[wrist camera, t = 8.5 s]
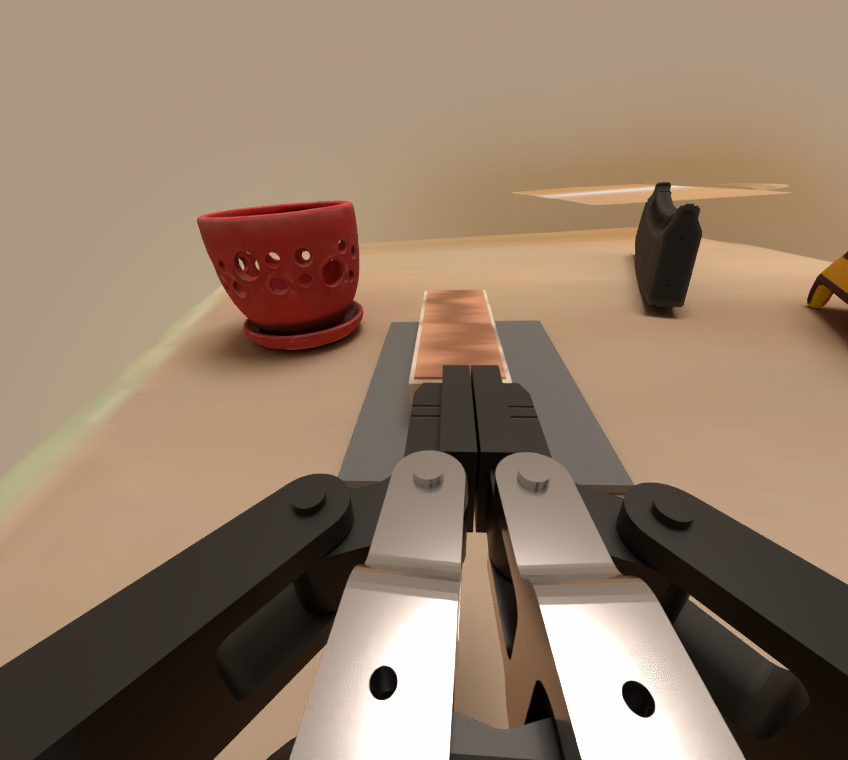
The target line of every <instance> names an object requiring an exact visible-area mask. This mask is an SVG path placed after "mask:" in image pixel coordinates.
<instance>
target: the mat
mask: <svg viewBox="0 0 848 760" xmlns="http://www.w3.org/2000/svg"><path fill="white" fill-rule="evenodd" d="M494 322H495V325H496V329H497V332H498V336H499V339H500V343H501V346H502V349H503V353H504V356H505V360H506V363H507V367H508V370H509V373H510V377H511V380H512V383H519V384H520V385H521V386H522V387H523V388H524V389H525V390H526V391H528V392H529V393H530V395H531V398H532V401H533V404H534V408H535V410H536V413H537V416H538V419H539V422H540V424H541V427H542V430H543V433H544V436H545V439H546V442H547V445H548V448H549V450H550V453H551V456H552V459H554V460H555V461H557V462H558V463H560V464H561V465H562V466H563V467H565V469H566V470H567V471H568V472H569V474H570V475H571V477H572V479H573V481H574V482H575V483H577V484H579V485H581V486H583V487H585V488H588V489H591V490H594V491H598V492H602V493H606V494H626V492H627V491H628V490H629V489H630V488H631V487H633V486H634V484H633V482H632V481H631V479H630V477H629V475H628V474H627V472H626V470H625V468H624V467H623V465H622V463H621V461H620V460H619V458H618V456H617V454H616V453H615V451H614V449H613V448H612V446H611V444H610V442H609V441H608V439H607V437H606V435H605V434H604V432H603V430H602V428H601V427H600V425H599V423H598V422H597V420H596V418H595V416H594V415H593V413H592V411H591V409H590V408H589V406H588V404H587V402H586V401H585V399H584V397H583V396H582V394H581V392H580V390H579V389H578V387H577V385H576V383H575V382H574V380H573V378H572V376H571V375H570V373H569V371H568V369H567V368H566V366H565V364H564V363H563V361H562V359H561V357H560V356H559V354H558V352H557V350H556V349H555V347H554V345H553V343H552V342H551V340H550V338H549V337H548V335H547V333H546V331H545V330H544V328H543V326H542V324H541V323H540V321H494ZM418 327H419V322H392V323H391V325H390V328H389V331H388V334H387V337H386V340H385V343H384V346H383V348H382V351H381V354H380V357H379V360H378V363H377V366H376V369H375V371H374V374H373V377H372V380H371V383H370V386H369V389H368V392H367V394H366V397H365V400H364V403H363V406H362V409H361V412H360V415H359V417H358V420H357V423H356V426H355V429H354V432H353V435H352V438H351V440H350V443H349V446H348V449H347V452H346V455H345V458H344V461H343V463H342V466H341V469H340V472H339V475H338V478H340V479H341V480H343V481H344V482H345V483H346V485H347V486H348V489H355V488H360V487H364V486H368V485H372V484H375V483H378V482H380V481H383V480H385V479H386V478H388V477H389V476H391V475H392V472H393V470H394V468H395V466H396V465H397V463H398V462H399V461H400V460H401V459H403V458H404V453H405V447H406V440H407V434H408V428H409V421H410V418H411V413H410V397H409V378H410V373H411V367H412V361H413V356H414V350H415V344H416V339H417V333H418Z"/></svg>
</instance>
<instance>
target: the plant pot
mask: <svg viewBox="0 0 848 760" xmlns="http://www.w3.org/2000/svg"><path fill="white" fill-rule="evenodd" d="M197 223H198V226H199V229H200V233H201V236H202V239H203V242H204V244H205V247H206V250H207V252H208V255H209V257H210V258H211V260H212V263H213V265H214V267H215V270H216V273H217V275H218V277H219V279H220V281H221V283H222V285H223V287H224V289H225V290H226V292H227V293H228V295H229V296H230V298H231V299H232V301H233V302H234V304H235V305H236V306H237V307H238V308H239V310H240V311H241V312H242V313H243V314H244V315H245V316H246V317H247V318H248V319H247V320H246V322H245V324H244V331H245V333H246V335H247V336H248V338H249V339H251V340H252V341H254V342H255V343H257V344H259V345H262V346H265V347H268V348H270V349H283V350H298V349H307V348H313V347H318V346H322V345H326V344H329V343H332V342H335V341H337V340H340V339H342V338H343V337H345V336H347V335H348V334H350V333H351V332H352V331H353V330H354V329H355V328H356V327H357V326H358V325H359V323H360V321H361V319H362V317H363V308H362V306H361V305H360V304H359V303H358V302H356V301H353V299H354V297H355V293H356V289H357V285H358V278H359V245H358V234H357V226H356V218H355V212H354V208H353V204H352V203H351V202H348V201H318V202H306V203H294V204H281V205H270V206H261V207H252V208H244V209H235V210H228V211H221V212H215V213H211V214H206V215H203V216H200V217H199V218H198V219H197ZM340 240H341V242H340V243H339V241H340ZM303 251H308V252H309V253H310V258H309V259H308V260H305V259H303V257H302V252H303ZM247 252H248V253H247ZM270 252H274V253H276V254H277V255H278V256H279V257H280V260H276V259H273V258H272V257H271V256H270V255H269V253H270ZM249 253H250V254H249ZM238 259H240V260H242V262H243V264H244V270H242V268H241V266H240V265H239V260H238ZM256 260H257V262H258V264H259V270H258V269H257V268H256V266H255V262H256Z"/></svg>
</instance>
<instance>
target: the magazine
mask: <svg viewBox="0 0 848 760" xmlns="http://www.w3.org/2000/svg"><path fill="white" fill-rule="evenodd" d="M670 187H671V184H670V182H659V183H657V184H656V186H655V190H654V192H653V194H652V195H651V196H650V198H649V199H648V201H647V202H646V204H645V207H644V211H643V213H642V217H641V220H640V224H639V227H638V231H637V235H636V240H635V263H636V276H637V281H638V284H639V287H640V289H641V291H642V293H643V295H644V296H645V298H646V299H647V301H646V302H647V304H650V305H655V306H656V307H667V308H673V307H682V306H683V305H684V301H685V297H686V294H687V290H688V286H689V282H690V279H691V275H692V271H693V267H694V263H695V260H696V256H697V252H698V248H699V245H700V241H701V237H702V230H701V227H700V224H699V221H698V216H699V212H700V208H699V207H698V206H694V204H685V205H684V206H680V207H679V208H678V209H677V208H675V206H674V205H673V202H672V199H671V192H670Z"/></svg>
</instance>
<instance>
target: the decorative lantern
mask: <svg viewBox="0 0 848 760" xmlns="http://www.w3.org/2000/svg"><path fill="white" fill-rule="evenodd" d="M833 293H834V294H835V295H837V296H838V297H839V298H840V299H842V300H843V301H844V302H845V303H847V304H848V252H847V253H846V254H845V255H843V256H842V257H840V258H839V259H838V260H837V261H835V262H834V263H833V264H831V265H830V266H829V267H828V268H826V269H825V270H824V271H823V272H822V273H821V274H820V275H819V276H818V277H817V278H816V280H815V282H814V284H813V286H812V288H811V290H810V292H809V295H808V299H807V304H808V305H809V306H810V307H811V308H820V307H823V306H824V305H825V304H826V303H827V302H828V301H829V300H830V298H831V296H832V295H833Z"/></svg>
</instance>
